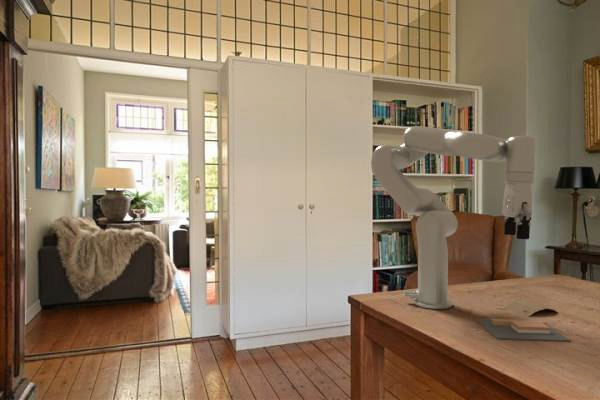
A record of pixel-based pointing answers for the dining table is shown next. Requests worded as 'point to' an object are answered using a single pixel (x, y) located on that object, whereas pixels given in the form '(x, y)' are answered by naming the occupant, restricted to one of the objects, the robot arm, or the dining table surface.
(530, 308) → the clay tablet
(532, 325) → the tile
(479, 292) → the dining table surface
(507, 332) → the mat
